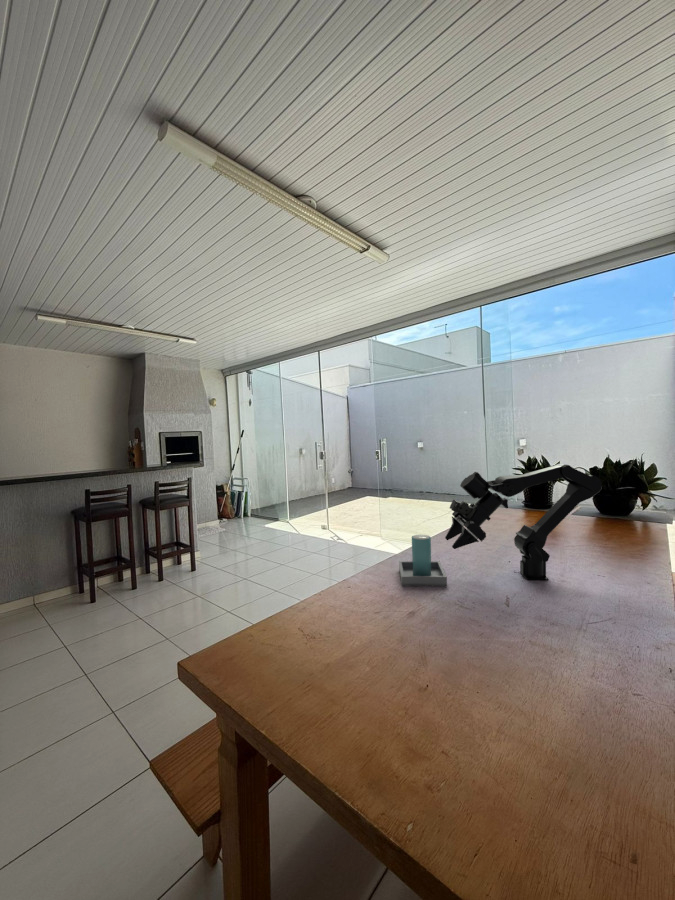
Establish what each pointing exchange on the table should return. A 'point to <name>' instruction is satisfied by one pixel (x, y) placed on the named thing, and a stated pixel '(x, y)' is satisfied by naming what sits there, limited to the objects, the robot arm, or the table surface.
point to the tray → (410, 580)
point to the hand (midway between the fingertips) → (449, 543)
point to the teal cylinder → (421, 555)
